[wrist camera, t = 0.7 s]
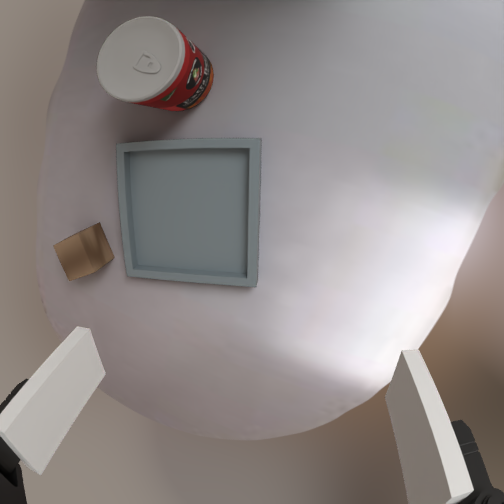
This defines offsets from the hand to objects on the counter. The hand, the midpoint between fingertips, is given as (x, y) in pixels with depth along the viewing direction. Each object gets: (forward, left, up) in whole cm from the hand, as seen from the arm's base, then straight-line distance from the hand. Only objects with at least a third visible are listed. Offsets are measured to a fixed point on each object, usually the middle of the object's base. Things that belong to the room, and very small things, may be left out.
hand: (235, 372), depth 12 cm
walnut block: (+4, -23, -24) cm, 34 cm away
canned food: (-16, -10, -24) cm, 30 cm away
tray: (-1, -9, -24) cm, 25 cm away
